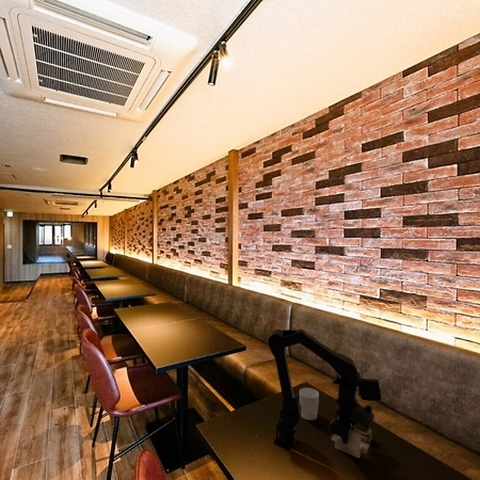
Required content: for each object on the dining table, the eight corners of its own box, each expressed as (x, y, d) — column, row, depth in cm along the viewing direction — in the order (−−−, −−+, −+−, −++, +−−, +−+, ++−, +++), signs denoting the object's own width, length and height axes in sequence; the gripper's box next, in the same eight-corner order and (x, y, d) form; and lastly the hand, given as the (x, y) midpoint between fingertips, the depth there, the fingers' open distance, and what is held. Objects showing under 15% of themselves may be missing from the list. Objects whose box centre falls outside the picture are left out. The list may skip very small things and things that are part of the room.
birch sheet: (334, 448, 99) (335, 425, 99) (336, 446, 100) (336, 423, 100) (359, 459, 94) (359, 435, 94) (360, 456, 96) (360, 432, 96)
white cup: (304, 409, 123) (304, 385, 123) (321, 416, 118) (322, 392, 118) (295, 417, 117) (295, 393, 117) (313, 425, 112) (313, 400, 112)
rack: (330, 441, 103) (330, 429, 103) (338, 427, 111) (339, 416, 111) (366, 456, 96) (366, 443, 96) (372, 440, 104) (372, 428, 104)
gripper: (365, 419, 86) (364, 471, 85) (377, 392, 101) (376, 437, 101) (328, 405, 92) (327, 454, 92) (345, 383, 107) (344, 424, 107)
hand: (345, 442), depth 98 cm, fingers closed on birch sheet
